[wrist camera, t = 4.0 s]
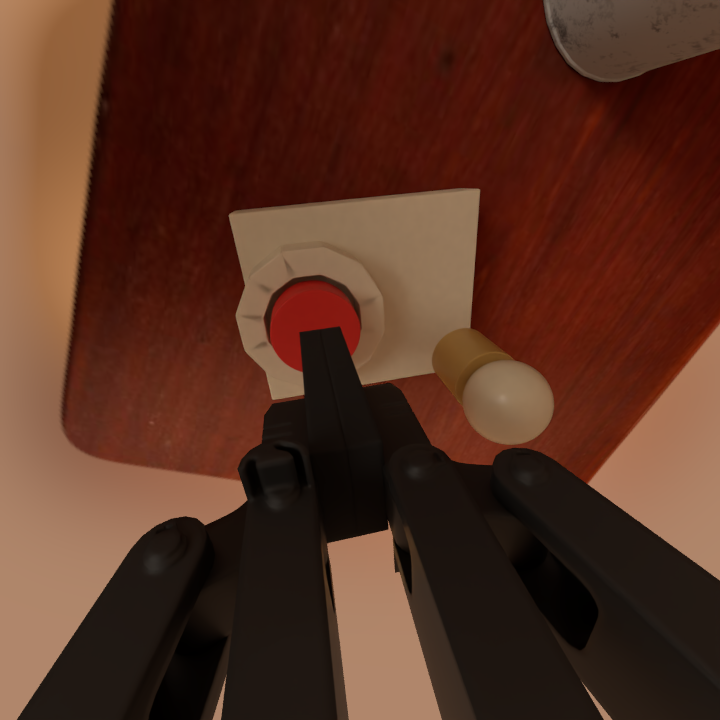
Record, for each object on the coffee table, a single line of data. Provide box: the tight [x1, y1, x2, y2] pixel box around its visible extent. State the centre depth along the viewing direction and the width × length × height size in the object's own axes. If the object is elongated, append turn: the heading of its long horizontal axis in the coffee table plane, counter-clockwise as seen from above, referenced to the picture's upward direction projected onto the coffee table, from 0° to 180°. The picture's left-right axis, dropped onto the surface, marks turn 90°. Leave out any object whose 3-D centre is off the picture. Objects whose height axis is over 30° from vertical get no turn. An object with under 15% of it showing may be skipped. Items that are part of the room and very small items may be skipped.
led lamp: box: [432, 328, 554, 445], centre depth 16 cm, size 4×4×6 cm
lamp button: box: [270, 280, 361, 372], centre depth 16 cm, size 4×4×2 cm
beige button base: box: [229, 188, 480, 400], centre depth 19 cm, size 10×12×4 cm
